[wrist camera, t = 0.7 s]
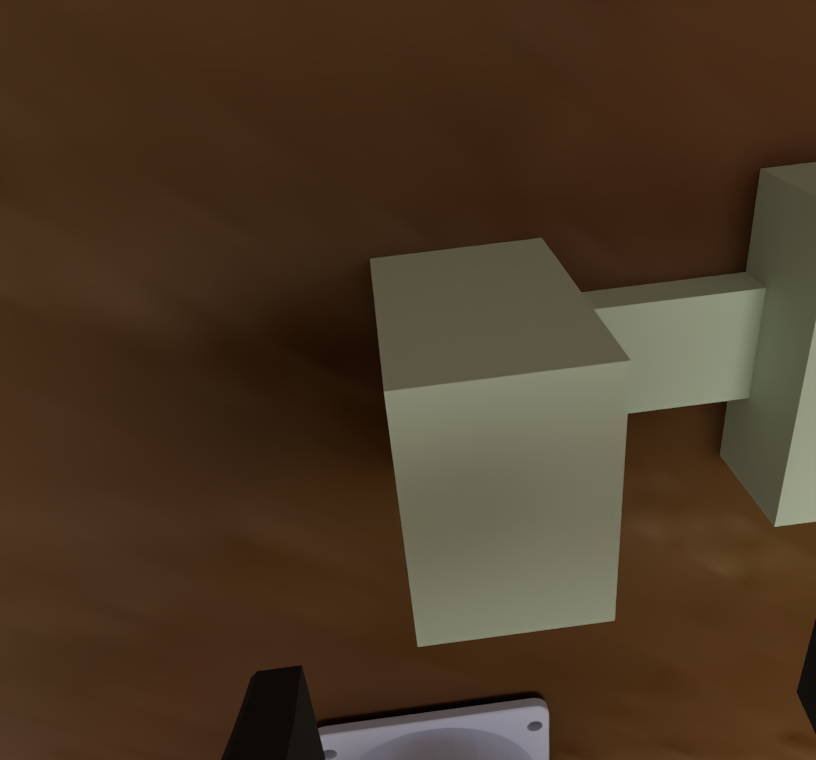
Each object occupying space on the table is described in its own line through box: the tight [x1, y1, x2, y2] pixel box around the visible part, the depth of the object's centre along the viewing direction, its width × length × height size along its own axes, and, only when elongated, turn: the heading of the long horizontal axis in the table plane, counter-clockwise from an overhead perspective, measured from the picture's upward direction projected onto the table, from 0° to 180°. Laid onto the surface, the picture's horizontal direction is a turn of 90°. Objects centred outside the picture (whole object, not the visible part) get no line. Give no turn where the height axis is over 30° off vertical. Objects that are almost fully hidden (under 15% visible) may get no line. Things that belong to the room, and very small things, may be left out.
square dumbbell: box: [370, 162, 816, 647], centre depth 16 cm, size 8×13×6 cm, turn 96°
